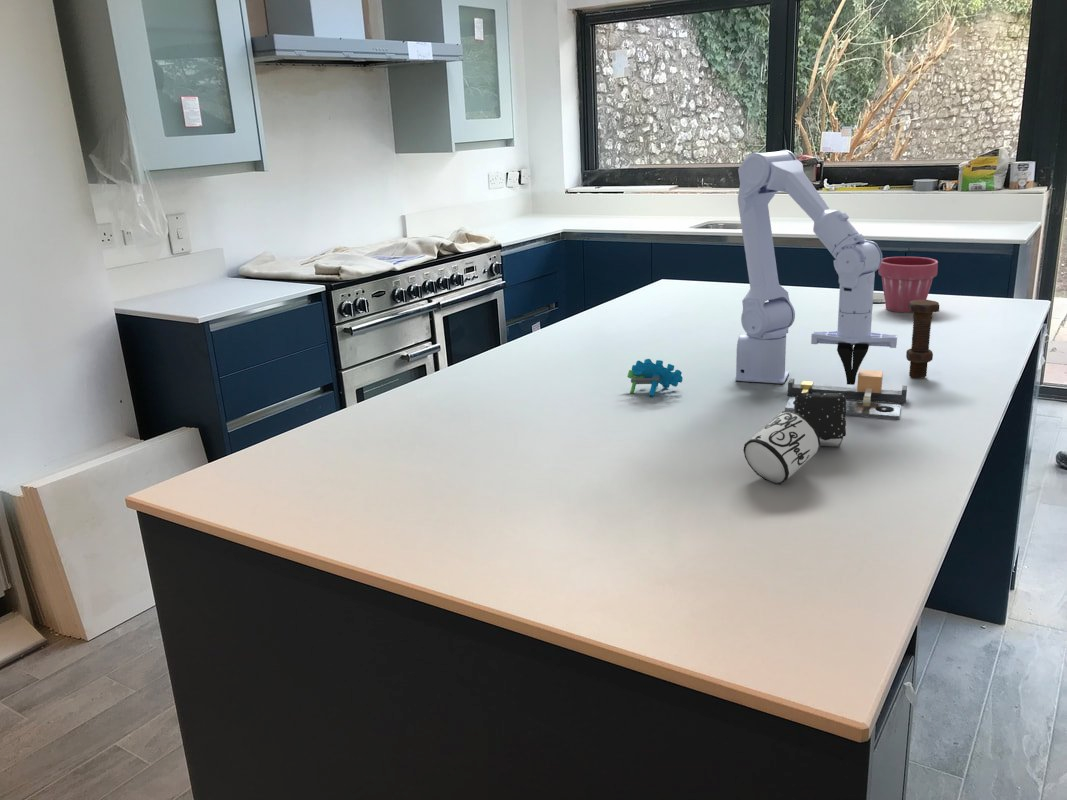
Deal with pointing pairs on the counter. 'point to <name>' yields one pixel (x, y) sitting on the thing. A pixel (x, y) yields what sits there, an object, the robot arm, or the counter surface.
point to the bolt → (921, 337)
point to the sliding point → (869, 384)
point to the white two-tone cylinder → (797, 435)
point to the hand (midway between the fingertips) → (851, 383)
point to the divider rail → (847, 392)
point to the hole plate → (863, 409)
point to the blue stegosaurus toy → (653, 375)
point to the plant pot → (906, 280)
